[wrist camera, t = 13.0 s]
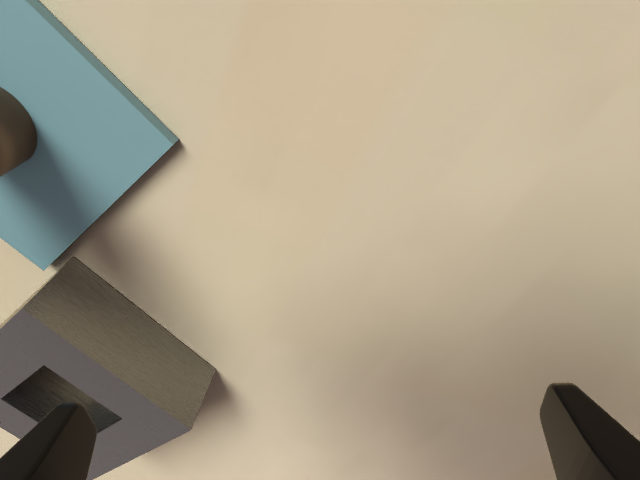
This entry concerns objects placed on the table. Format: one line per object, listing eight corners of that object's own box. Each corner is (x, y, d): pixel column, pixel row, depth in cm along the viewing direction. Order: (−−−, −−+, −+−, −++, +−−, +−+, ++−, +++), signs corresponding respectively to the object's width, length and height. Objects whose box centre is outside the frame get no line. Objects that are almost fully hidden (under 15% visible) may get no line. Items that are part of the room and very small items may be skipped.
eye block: (215, 369, 27) (191, 429, 24) (121, 423, 32) (89, 481, 28) (73, 256, 24) (21, 308, 21) (-11, 335, 28) (-64, 388, 25)
